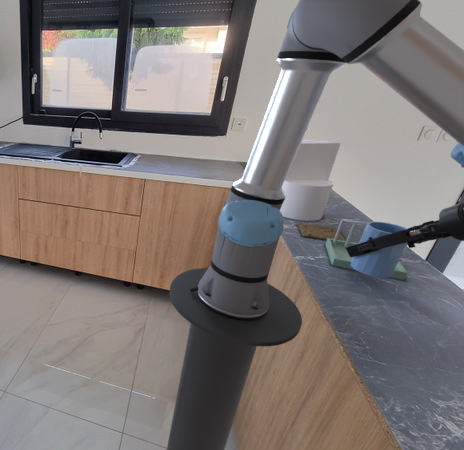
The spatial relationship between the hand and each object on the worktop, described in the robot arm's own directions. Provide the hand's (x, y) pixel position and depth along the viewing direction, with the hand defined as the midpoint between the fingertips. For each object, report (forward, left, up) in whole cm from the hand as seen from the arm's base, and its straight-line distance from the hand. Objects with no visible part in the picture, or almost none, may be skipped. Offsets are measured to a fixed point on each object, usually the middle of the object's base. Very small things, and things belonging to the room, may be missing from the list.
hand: (362, 250), depth 83 cm
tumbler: (+2, -2, -4) cm, 5 cm away
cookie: (-5, +28, -7) cm, 29 cm away
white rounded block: (-11, +47, -8) cm, 49 cm away
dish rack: (+3, +11, -7) cm, 13 cm away
